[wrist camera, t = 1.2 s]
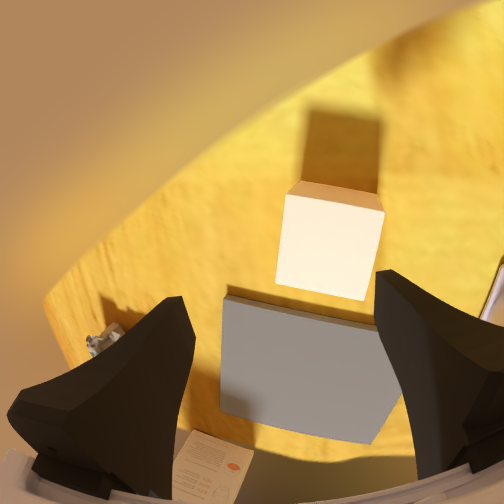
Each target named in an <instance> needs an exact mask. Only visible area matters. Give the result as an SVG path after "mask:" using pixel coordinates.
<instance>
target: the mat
mask: <svg viewBox="0 0 504 504" xmlns="http://www.w3.org/2000/svg"><path fill="white" fill-rule="evenodd" d="M401 394H402V390H401V387H400V385H399V382H398V380H397V377H396V375H395V372H394V370H393V368H392V365H391V363H390V361H389V358H388V356H387V354H386V351H385V349H384V347H383V344H382V342H381V340H380V337H379V333H378V330H377V327H376V326H375V325H370V324H364V323H359V322H354V321H349V320H343V319H338V318H333V317H328V316H323V315H319V314H314V313H309V312H304V311H300V310H295V309H290V308H286V307H281V306H277V305H272V304H268V303H263V302H259V301H254V300H250V299H246V298H241V297H237V296H233V295H229V294H227V295H226V296H225V297H224V299H223V317H222V344H221V377H220V412H223V413H226V414H229V415H233V416H236V417H239V418H243V419H246V420H250V421H253V422H257V423H261V424H265V425H269V426H273V427H277V428H281V429H285V430H289V431H294V432H298V433H303V434H308V435H313V436H318V437H323V438H329V439H334V440H340V441H347V442H353V443H360V444H368V445H371V443H372V442H373V440H374V439H375V437H376V435H377V434H378V432H379V431H380V429H381V428H382V426H383V424H384V423H385V421H386V419H387V418H388V416H389V414H390V413H391V411H392V409H393V408H394V406H395V404H396V402H397V401H398V399H399V397H400V395H401Z"/></svg>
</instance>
